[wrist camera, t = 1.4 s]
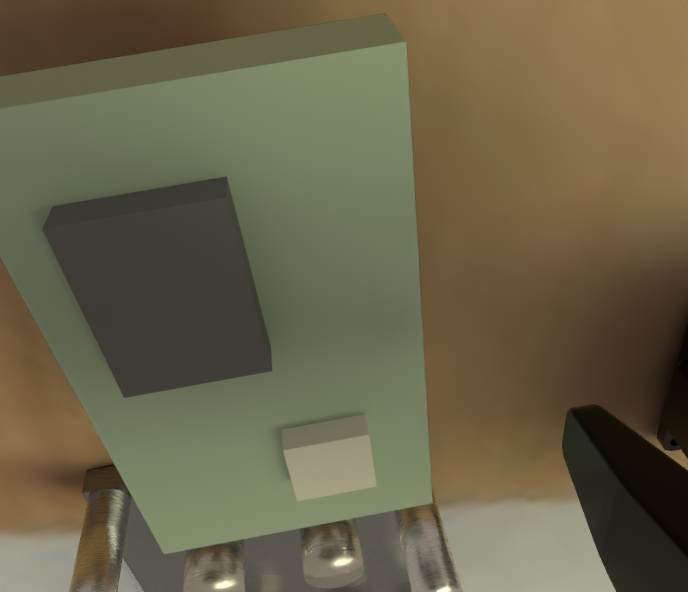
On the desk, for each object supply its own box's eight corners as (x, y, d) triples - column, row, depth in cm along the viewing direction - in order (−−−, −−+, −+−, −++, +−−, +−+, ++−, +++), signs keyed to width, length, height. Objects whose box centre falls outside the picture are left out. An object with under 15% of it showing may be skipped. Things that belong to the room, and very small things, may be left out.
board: (386, 12, 9) (416, 56, 8) (418, 453, 15) (439, 527, 14) (-37, 82, 9) (-96, 141, 7) (169, 499, 15) (161, 580, 14)
